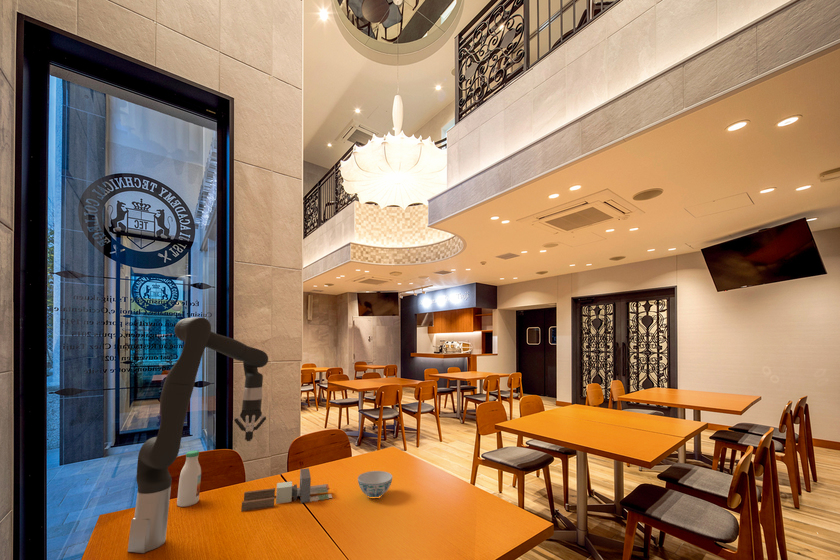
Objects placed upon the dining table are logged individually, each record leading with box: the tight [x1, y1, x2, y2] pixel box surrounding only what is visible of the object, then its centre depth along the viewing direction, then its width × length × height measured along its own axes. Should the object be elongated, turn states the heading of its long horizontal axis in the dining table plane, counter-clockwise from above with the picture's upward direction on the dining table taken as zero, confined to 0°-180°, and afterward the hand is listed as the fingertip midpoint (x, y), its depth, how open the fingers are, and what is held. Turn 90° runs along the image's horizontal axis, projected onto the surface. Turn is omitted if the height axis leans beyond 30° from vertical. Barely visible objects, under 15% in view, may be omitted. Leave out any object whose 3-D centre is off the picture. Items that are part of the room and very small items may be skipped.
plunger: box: [293, 483, 330, 501], centre depth 158 cm, size 14×8×4 cm, turn 110°
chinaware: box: [357, 470, 393, 497], centre depth 159 cm, size 15×15×8 cm
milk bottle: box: [176, 449, 202, 508], centre depth 153 cm, size 8×8×20 cm
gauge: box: [240, 467, 333, 512], centre depth 156 cm, size 35×13×9 cm, turn 110°
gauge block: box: [275, 480, 294, 505], centre depth 155 cm, size 7×6×6 cm
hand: (248, 440), depth 155 cm, fingers closed
